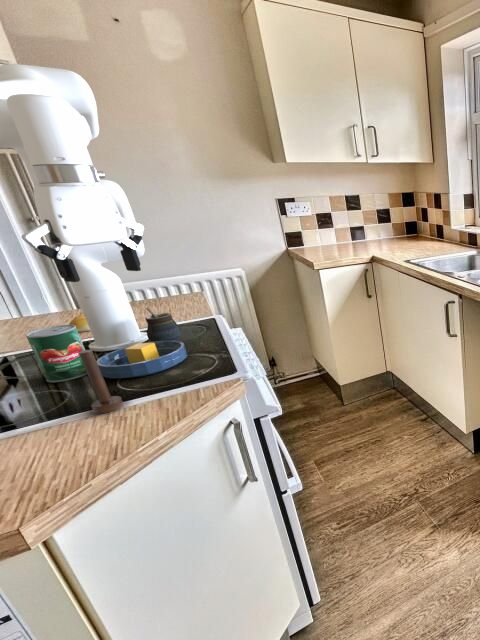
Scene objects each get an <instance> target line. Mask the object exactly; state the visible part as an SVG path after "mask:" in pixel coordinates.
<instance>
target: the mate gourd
mask: <svg viewBox="0 0 480 640" xmlns="http://www.w3.org/2000/svg"><path fill="white" fill-rule="evenodd" d="M145 310H146V311H148V312H149V313H150V315H148V316H146V317H145V319H144V320H145V322H146V324H147V330H146V333H147V337H148V341H149V342H155V341H166V340H174V341H180V339H181V335H182V333H181V332H182V330H181V327H180V325H179V324H177V322H176V321H175V320H174V319H173V316H172V313H170V312H161V313H156V314H155V313H154V312H153V311H152V310H151V309H150V308H149V307H145Z"/></svg>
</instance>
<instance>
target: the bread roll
mask: <svg viewBox="0 0 480 640" xmlns="http://www.w3.org/2000/svg"><path fill="white" fill-rule="evenodd" d="M68 325H75V326H76V329H77V331H78V333H82V332H91V331H90V328H89V326H88V323H87V321H86V318H85V316H84V314H82V315H78V316H75V318H73V319H72V320H71V321H70V322H69V324H68ZM86 328H87V329H86ZM78 329H79V330H78Z"/></svg>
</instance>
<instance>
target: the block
mask: <svg viewBox="0 0 480 640" xmlns="http://www.w3.org/2000/svg"><path fill="white" fill-rule="evenodd" d="M125 351H126V354H127V357H128V359H129V362H130V364H134V363H139V362H144V361H148V360H152V359H155V358H159V354H158V352H157V349H156V346H155V343H148V342H142V343H138V344H136V345H133V346H131V347H129V348H126V349H125Z"/></svg>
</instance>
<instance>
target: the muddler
mask: <svg viewBox="0 0 480 640" xmlns="http://www.w3.org/2000/svg"><path fill="white" fill-rule="evenodd" d="M79 356H80V358H81V360H82V362H83V365H84V367H85V369H86V372H87V376H88V378H89V381H90V384H91V385H92V388H93V390H94V392H95V395H96V397H97V400H95V401H94V402H92V403H91V405H90V408H91V409H92V412H93V414H96V415H97V414H98V415H100V414H106V413H111V412H114V411H116V410H118V409H120V408H122V407H123V406H124V405H125V404H124V401H123V398H122V397H121V396H120V395H113V396H112V395H111V393H110V390H109V388H108V385H107V383H106V381H105V377H103V376H102V374H101V371H100V369H99V366H98V364H97V362H96V361H97V360H96V357H95V354H94V351H92V350H90V349H85V350H84V351H81V352H79Z"/></svg>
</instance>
